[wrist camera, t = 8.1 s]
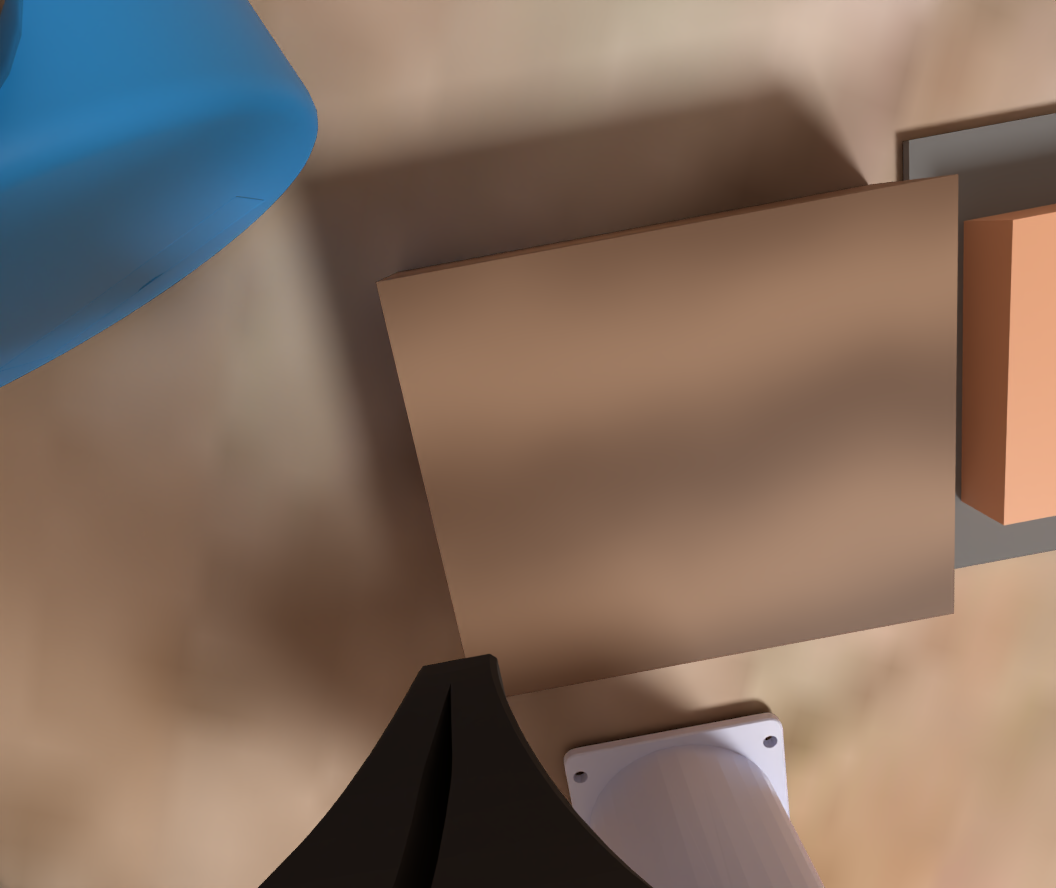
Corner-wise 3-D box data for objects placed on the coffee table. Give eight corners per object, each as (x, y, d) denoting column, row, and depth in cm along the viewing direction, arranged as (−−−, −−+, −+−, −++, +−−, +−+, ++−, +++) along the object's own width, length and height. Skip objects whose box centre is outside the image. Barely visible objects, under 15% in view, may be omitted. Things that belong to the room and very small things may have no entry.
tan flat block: (879, 551, 24) (953, 613, 20) (477, 626, 24) (475, 702, 20) (869, 184, 20) (958, 173, 16) (396, 272, 20) (375, 282, 16)
